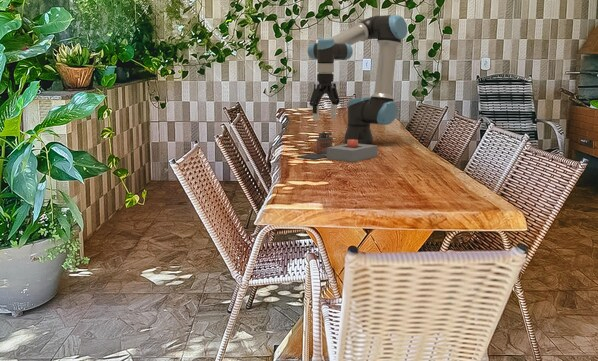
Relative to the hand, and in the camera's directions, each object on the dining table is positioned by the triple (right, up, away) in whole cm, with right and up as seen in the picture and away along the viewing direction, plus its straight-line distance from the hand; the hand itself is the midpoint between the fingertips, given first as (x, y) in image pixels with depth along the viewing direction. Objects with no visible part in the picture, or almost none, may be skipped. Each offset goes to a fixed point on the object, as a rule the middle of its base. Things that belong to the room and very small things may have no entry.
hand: (324, 119), depth 323 cm
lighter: (0, -16, +3) cm, 16 cm away
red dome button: (+12, -15, -9) cm, 21 cm away
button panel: (+12, -18, -9) cm, 23 cm away
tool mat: (-5, -18, -8) cm, 20 cm away
